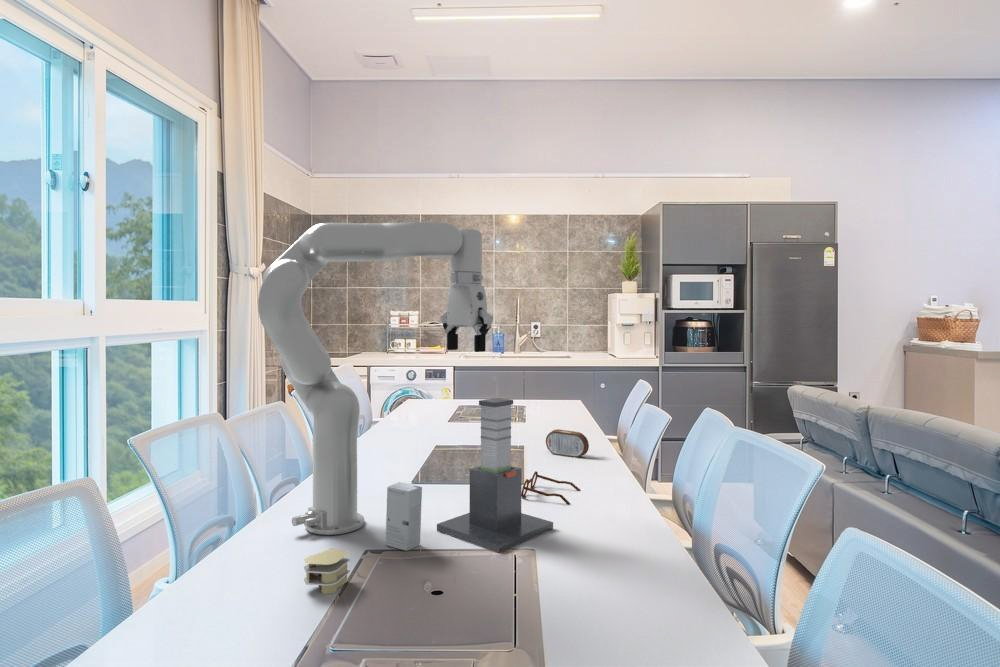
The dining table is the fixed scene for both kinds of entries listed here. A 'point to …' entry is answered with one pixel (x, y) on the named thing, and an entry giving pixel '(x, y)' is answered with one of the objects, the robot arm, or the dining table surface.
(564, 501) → the glasses
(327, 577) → the beige layered block
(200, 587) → the dining table surface
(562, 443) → the tin
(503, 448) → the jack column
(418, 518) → the skincare box
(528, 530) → the base
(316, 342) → the robot arm
